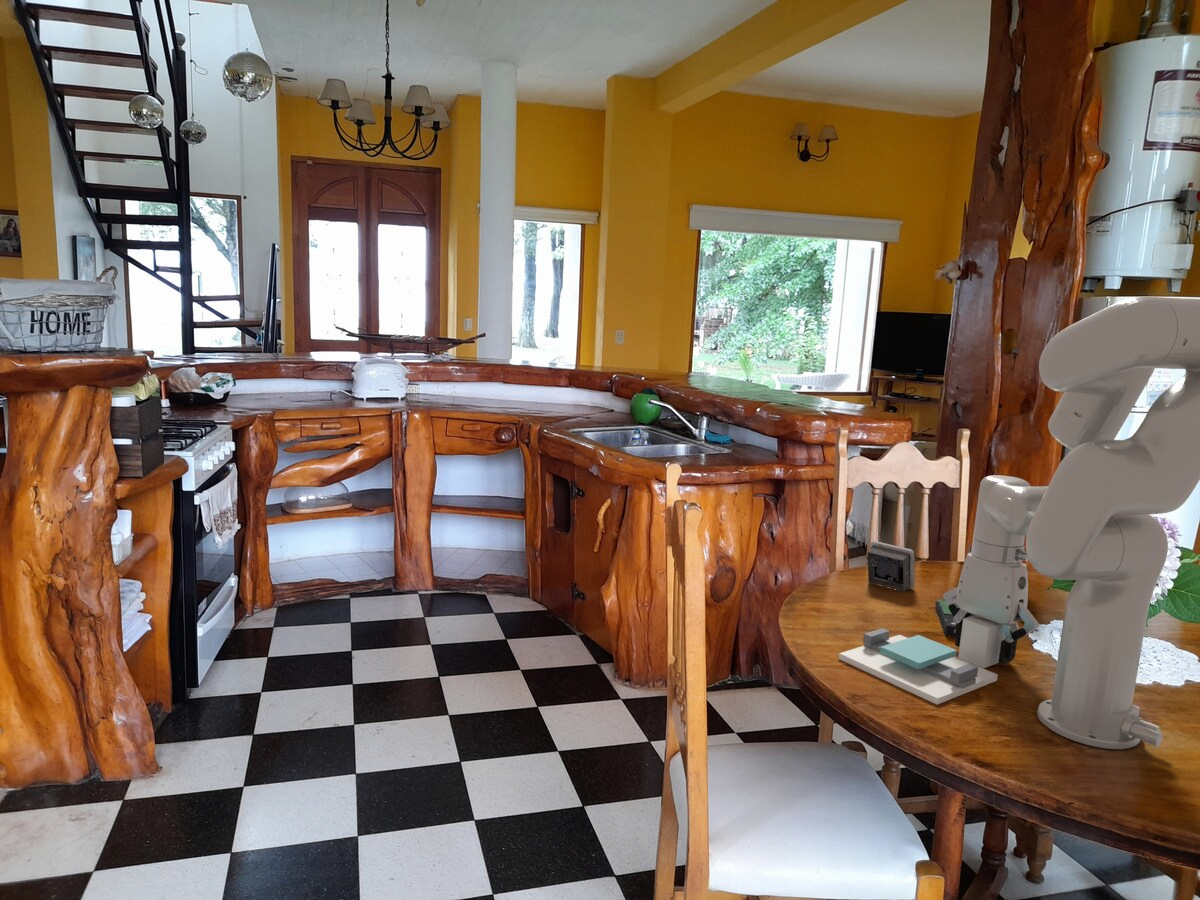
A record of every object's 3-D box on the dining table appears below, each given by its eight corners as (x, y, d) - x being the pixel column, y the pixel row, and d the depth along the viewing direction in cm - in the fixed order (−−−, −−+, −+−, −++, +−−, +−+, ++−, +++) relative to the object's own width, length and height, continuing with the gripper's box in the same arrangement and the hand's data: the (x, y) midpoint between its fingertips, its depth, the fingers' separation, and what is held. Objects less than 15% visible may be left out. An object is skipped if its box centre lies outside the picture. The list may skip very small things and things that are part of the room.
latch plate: (956, 656, 132) (956, 650, 132) (918, 669, 127) (919, 663, 126) (917, 640, 138) (918, 634, 138) (880, 652, 132) (880, 646, 132)
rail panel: (997, 680, 130) (999, 660, 129) (937, 704, 121) (939, 683, 120) (899, 640, 144) (901, 621, 144) (838, 659, 135) (840, 639, 135)
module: (1006, 659, 138) (1012, 620, 137) (983, 668, 134) (988, 628, 133) (979, 649, 142) (985, 610, 141) (956, 657, 138) (961, 618, 137)
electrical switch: (915, 589, 172) (918, 547, 170) (904, 597, 168) (907, 555, 166) (872, 578, 178) (874, 538, 176) (861, 586, 174) (863, 544, 172)
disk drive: (1007, 648, 145) (990, 617, 159) (1009, 633, 144) (992, 603, 158) (944, 640, 147) (933, 610, 161) (946, 625, 147) (935, 596, 161)
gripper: (1062, 563, 130) (1046, 668, 133) (961, 535, 144) (949, 631, 147) (1037, 570, 126) (1021, 678, 129) (935, 540, 140) (923, 639, 143)
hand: (983, 652), depth 138 cm, fingers open, 7 cm apart
